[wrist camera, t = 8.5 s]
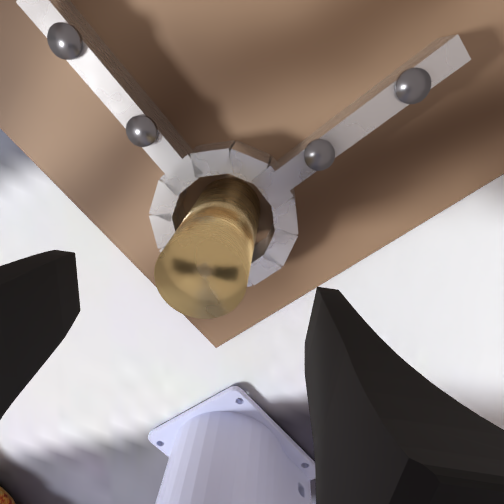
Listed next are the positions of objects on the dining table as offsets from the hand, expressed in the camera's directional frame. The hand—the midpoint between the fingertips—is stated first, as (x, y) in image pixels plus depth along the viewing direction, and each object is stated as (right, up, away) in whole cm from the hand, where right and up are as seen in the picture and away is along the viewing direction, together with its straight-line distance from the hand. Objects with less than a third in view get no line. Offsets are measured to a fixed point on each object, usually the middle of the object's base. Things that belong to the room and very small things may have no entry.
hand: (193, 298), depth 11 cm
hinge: (+1, +8, +5) cm, 10 cm away
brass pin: (+1, +4, +7) cm, 8 cm away
